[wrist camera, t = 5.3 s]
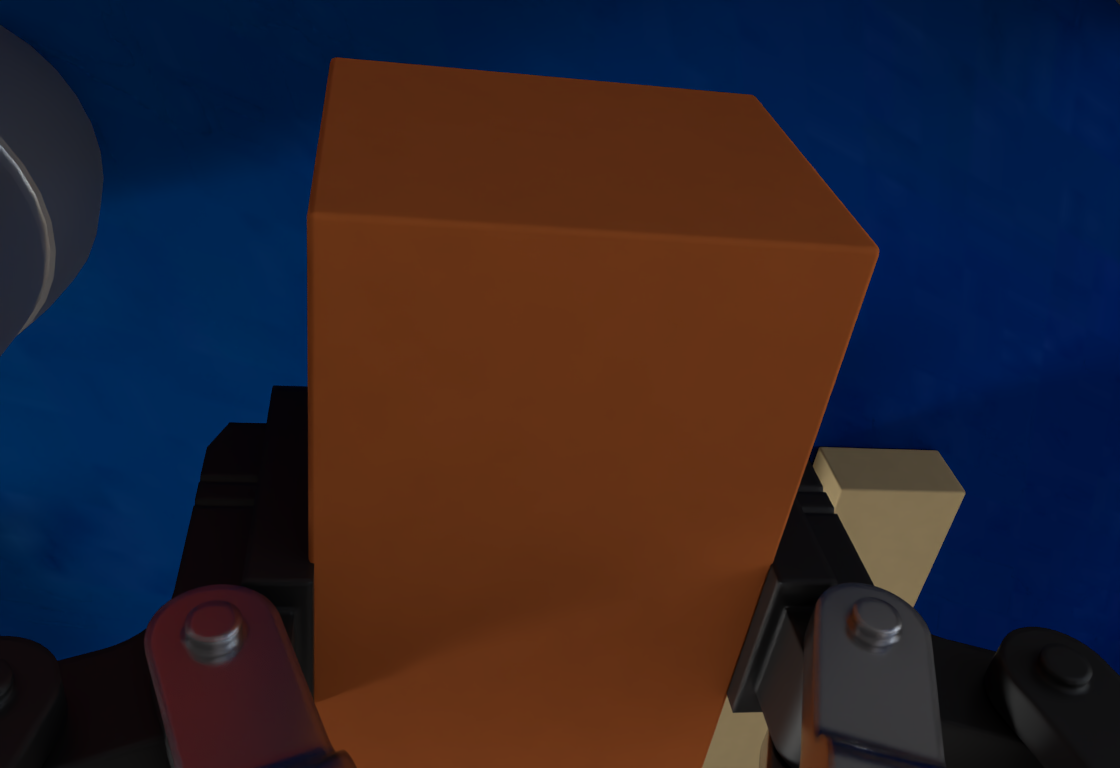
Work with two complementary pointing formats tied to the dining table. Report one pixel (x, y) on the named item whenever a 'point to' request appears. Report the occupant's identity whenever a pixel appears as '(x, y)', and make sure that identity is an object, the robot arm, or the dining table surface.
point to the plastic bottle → (41, 186)
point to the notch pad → (866, 547)
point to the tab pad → (555, 407)
